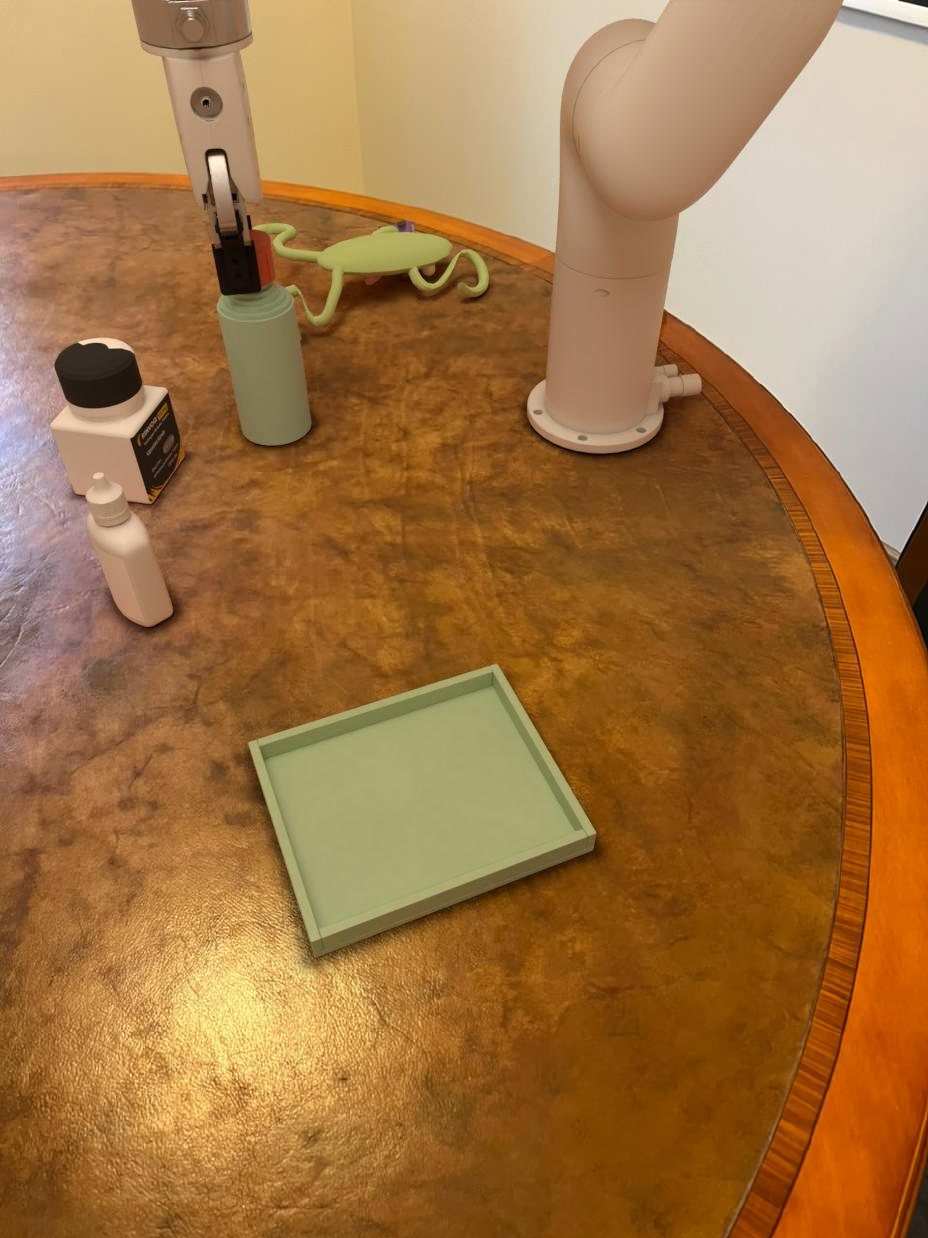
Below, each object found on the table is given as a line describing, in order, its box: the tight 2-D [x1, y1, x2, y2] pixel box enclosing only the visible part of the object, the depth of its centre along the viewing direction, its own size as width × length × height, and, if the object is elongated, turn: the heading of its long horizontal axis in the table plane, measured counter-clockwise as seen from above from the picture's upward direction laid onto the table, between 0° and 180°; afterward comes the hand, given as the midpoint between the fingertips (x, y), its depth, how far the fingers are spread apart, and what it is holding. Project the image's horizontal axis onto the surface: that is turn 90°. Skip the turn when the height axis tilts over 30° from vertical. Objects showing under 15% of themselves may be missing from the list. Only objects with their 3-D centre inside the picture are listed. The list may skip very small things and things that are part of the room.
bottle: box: [216, 280, 312, 447], centre depth 80 cm, size 6×6×16 cm
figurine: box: [252, 220, 490, 341], centre depth 103 cm, size 18×27×6 cm
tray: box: [247, 663, 597, 959], centre depth 57 cm, size 17×14×2 cm
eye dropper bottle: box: [85, 473, 174, 628], centre depth 65 cm, size 4×6×12 cm
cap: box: [242, 229, 277, 287], centre depth 74 cm, size 4×4×3 cm
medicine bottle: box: [49, 337, 186, 505], centre depth 76 cm, size 7×7×12 cm
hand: (239, 276), depth 75 cm, fingers closed on cap, 3 cm apart
